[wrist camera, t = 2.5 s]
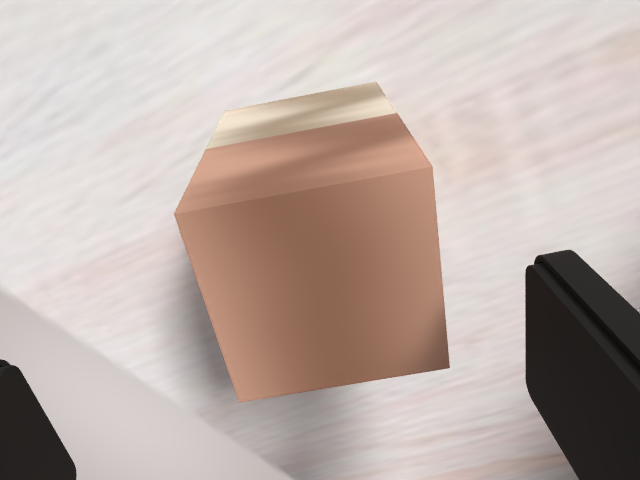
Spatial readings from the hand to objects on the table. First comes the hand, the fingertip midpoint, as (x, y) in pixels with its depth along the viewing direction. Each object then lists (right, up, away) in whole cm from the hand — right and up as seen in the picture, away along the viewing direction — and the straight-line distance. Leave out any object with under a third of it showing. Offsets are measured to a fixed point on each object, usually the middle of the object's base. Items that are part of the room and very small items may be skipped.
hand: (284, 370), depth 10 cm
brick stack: (0, +5, +8) cm, 10 cm away
